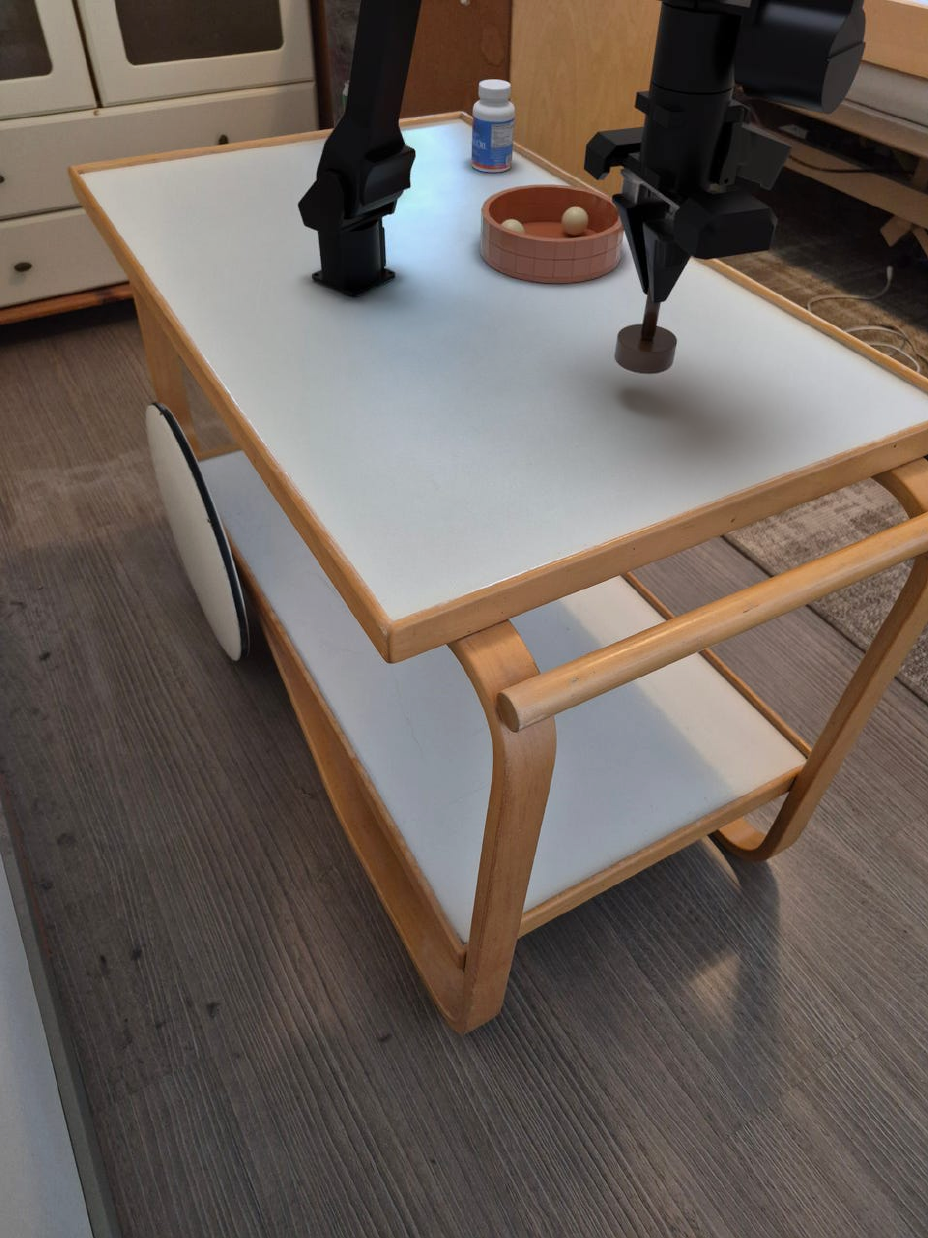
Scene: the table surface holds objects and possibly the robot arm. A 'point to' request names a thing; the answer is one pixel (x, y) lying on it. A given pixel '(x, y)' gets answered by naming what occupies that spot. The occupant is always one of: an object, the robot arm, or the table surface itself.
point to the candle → (340, 47)
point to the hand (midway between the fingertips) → (654, 297)
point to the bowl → (550, 234)
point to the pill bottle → (493, 127)
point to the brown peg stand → (646, 343)
